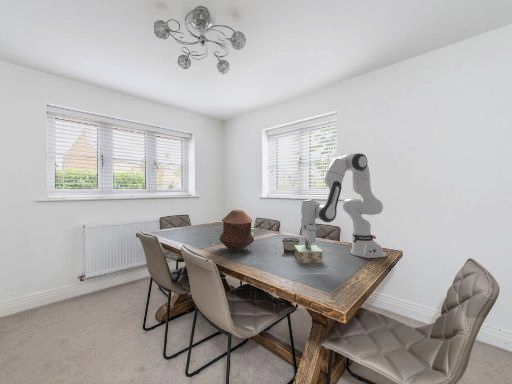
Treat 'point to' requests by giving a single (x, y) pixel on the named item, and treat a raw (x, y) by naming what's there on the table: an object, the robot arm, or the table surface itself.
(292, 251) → the food container
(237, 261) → the table surface
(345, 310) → the table surface
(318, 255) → the box
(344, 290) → the table surface
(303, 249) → the lid
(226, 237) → the pottery vessel
